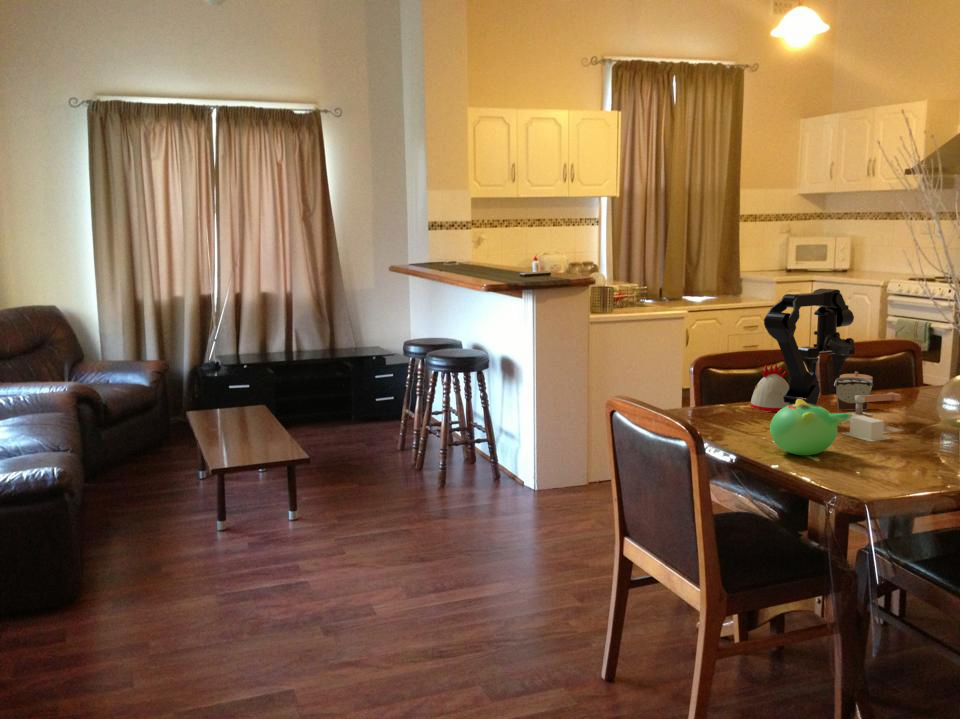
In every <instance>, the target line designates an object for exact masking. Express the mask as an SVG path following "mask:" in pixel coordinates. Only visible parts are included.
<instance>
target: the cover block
mask: <svg viewBox="0 0 964 719" xmlns="http://www.w3.org/2000/svg"><path fill="white" fill-rule="evenodd" d="M884 425H885V421H884V420H882V419H877V418H870V417H866V416H855V417H851V419H850V423H849V432H850V434H853V435H856V436H860V437H863V438H867V439H870V440H872V439H879V438H883V436H884V433H883V429H884Z"/></svg>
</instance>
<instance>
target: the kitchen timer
mask: <svg viewBox="0 0 964 719" xmlns="http://www.w3.org/2000/svg"><path fill="white" fill-rule="evenodd" d="M782 369H783V368H782V367H779V369H778V365H777V364H775V365H774V368H773V364H770V366H769V369H768V366H767V364H765V365H764V370H763V369H762V368H760V372H761V374H762V376H763V377H762V378H761V379H760V380H759V381H758V383H757V384H756V385H755V386H754V390H753V393H752V396H751V400H750V408H751V407H753V408H755V409H759V410H764V411H771V412H778V411H779V410H781V409H782V408H784V407H786V406H788V405H789V403H785V402H784V398H783V396H784V395H785V393H786V391H787V390H788V388H789V382H787V381H786V379H784V377H785V375H786V373H787V372H786V370H785V371H784V372H783V373H782ZM781 373H782V374H781ZM771 412H770V413H771Z"/></svg>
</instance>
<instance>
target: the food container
mask: <svg viewBox="0 0 964 719" xmlns="http://www.w3.org/2000/svg"><path fill="white" fill-rule="evenodd" d="M833 386H834V387H835V391H836V392H835V393H836V409H837V410H838V411H856V402H855V396H856V395H871V391H872V388H871V386H872V387H874V383H873V380H870V379H865V378H856V377H843V378H840V377H838V378H836V379H835V381H834V384H833ZM870 390H871V391H870ZM868 406H869V402H864V403H863V411H868Z"/></svg>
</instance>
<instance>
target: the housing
mask: <svg viewBox="0 0 964 719" xmlns="http://www.w3.org/2000/svg"><path fill="white" fill-rule="evenodd" d="M850 413H851V414H852V416H851V417H855V416H866V417H870V418H873V414H872V413H868V412H864V410H863V403H857V402H856V410H855V411H854V412H853V411H852V412H851V411H850ZM851 417H850V418H849V419H847V420H845V421H844V422H846V423H849V424H850V419H851ZM903 431H905V429H901V428H897V427H893V426H889V425H885V424H884V429H883V434H890V433H897V432H898V433H899V432H903Z"/></svg>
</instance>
